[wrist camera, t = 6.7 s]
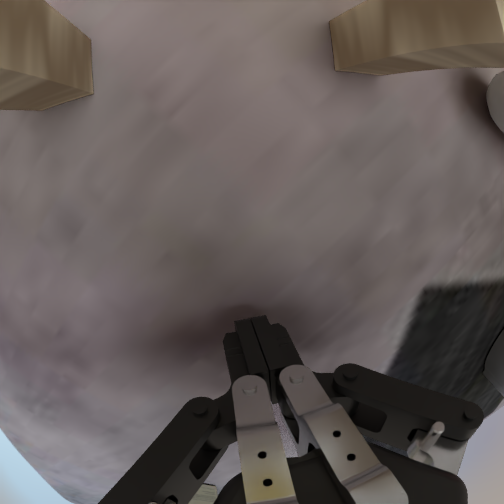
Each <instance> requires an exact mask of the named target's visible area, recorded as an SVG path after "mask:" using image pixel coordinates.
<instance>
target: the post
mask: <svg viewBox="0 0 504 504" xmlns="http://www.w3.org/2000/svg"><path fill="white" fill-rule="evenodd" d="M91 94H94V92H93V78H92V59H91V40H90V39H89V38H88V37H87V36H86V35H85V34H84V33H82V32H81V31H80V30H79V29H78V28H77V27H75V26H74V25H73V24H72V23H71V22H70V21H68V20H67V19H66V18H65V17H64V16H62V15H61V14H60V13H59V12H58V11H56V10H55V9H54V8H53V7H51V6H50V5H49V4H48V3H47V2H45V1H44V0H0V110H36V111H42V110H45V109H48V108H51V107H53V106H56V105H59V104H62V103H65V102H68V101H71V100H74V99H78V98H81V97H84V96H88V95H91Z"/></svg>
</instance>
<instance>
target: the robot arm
mask: <svg viewBox="0 0 504 504" xmlns="http://www.w3.org/2000/svg"><path fill="white" fill-rule="evenodd" d="M234 322H235V329H236V332H232V333H226V334H225V337H224V340H223V345H224V350H225V355H226V360H227V365H228V369H229V374H230V378H231V387H230V389H229V390H228V392H227V393H226V394H224V395H223V396H221V397H219V398H217V399H215V400H212V399H210V398H207V397H197V398H193V399H191V400H190V401H188V402H187V403H186V404H185V405H184V406H183V408H182V409H181V410H180V411H179V412H178V414H177V415H176V416H175V417H174V418H173V420H172V421H171V422H170V423H169V424H168V426H167V427H166V428H165V429H164V430H163V431H162V433H161V434H160V435H159V436H158V437H157V438H156V440H155V441H154V442H153V443H152V444H151V445H150V446H149V448H148V449H147V450H146V451H145V452H144V453H143V454H142V456H141V457H140V458H139V459H138V460H137V461H136V462H135V464H134V465H133V466H132V467H131V468H130V469H129V470H128V471H127V472H126V474H125V475H124V476H123V477H122V478H121V479H120V480H119V481H118V482H117V483H116V485H115V486H114V487H113V488H112V489H111V490H110V491H109V492H108V493H107V494H106V495H105V496H104V498H103V499H102V500H101V501H100V502H99V503H98V504H188V503H189V502H190V501H191V499H192V498H193V496H194V495H195V494H196V492H197V491H198V490H199V488H200V487H201V486H202V484H203V483H204V481H205V480H206V479H207V477H208V476H209V474H210V473H211V472H212V470H213V469H214V467H215V466H216V464H217V463H218V461H219V460H220V459H221V457H222V456H223V454H224V453H225V451H226V450H227V448H228V445H229V444H231V443H234V442H236V441H238V448H239V456H240V463H241V470H242V472H241V473H240V474H238V475H236V476H235V477H233V478H232V479H231V480H230V481H229V482H228V483H227V484H226V485H225V486H224V487H223V489H222V490H221V492H220V493H219V495H218V497H217V498H216V500H215V501H214V503H213V504H468V501H467V499H468V494H467V489H466V486H465V484H464V482H463V481H462V480H461V479H460V478H459V477H458V476H457V474H458V471H459V468H460V465H461V462H462V459H463V456H464V453H465V449H466V446H467V442H468V440H469V439H470V438H471V436H472V435H473V434H474V433H475V431H476V430H477V429H478V428H479V426H480V425H481V424H482V422H483V418H484V415H483V411H482V409H481V408H480V407H479V406H478V405H477V404H475V403H472V402H469V401H465V400H462V399H458V398H455V397H451V396H448V395H445V394H442V393H438V392H435V391H432V390H429V389H426V388H422V387H419V386H416V385H413V384H410V383H407V382H404V381H401V380H398V379H395V378H393V377H390V376H387V375H384V374H381V373H378V372H376V371H373V370H370V369H367V368H365V367H362V366H359V365H356V364H350V363H349V364H343V365H341V366H339V367H338V368H337V369H336V370H335V371H334V373H316V372H313V371H311V370H310V369H309V368H308V367H306V366H304V364H303V362H302V360H301V358H300V356H299V354H298V352H297V350H296V348H295V346H294V344H293V343H292V340H291V338H290V337H289V334H288V332H287V330H286V329H285V328H284V327H283V326H281V325H280V324H279V323H276V324H272V325H270V324H269V322H268V319H267V317H266V315H264V316H258V317H253V318H249V319H243V320H238V321H234ZM483 375H484V376H485V377H486V378H487V379H488V380H489V381H490V382H491V383H492V384H493V385H494V386H495V387H496V389H497V390H498V391H499V392H500V393H501V394H502V395H503V396H504V330H503V331H502V332H501V334H500V335H499V337H498V338H497V340H496V341H495V343H494V345H493V346H492V348H491V350H490V352H489V354H488V356H487V359H486V361H485V370H484V372H483ZM271 402H272V404H276V403H278V404H279V406H280V409H281V418H282V420H283V422H284V424H285V426H286V428H287V430H288V433H289V435H290V437H291V439H292V441H293V443H294V445H295V447H296V450H297V453H298V457H292V458H286V455H285V451H284V447H283V443H282V439H281V435H280V431H279V427H278V424H277V422H276V421H275V417H274V413H273V409H272V405H271ZM361 434H362V435H365V436H367V437H370V438H372V439H375V440H378V441H380V442H383V443H386V444H388V445H391V446H394V447H396V448H399V449H402V450H405V451H407V454H408V456H409V458H408V457H406V456H403V455H400V454H398V453H395V452H393V451H390V450H388V449H386V448H383V447H381V446H378V445H376V444H373V443H369V442H366V441H365V439H364V438H363V437H362V435H361Z"/></svg>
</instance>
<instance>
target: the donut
mask: <svg viewBox="0 0 504 504" xmlns="http://www.w3.org/2000/svg"><path fill="white" fill-rule="evenodd" d="M486 100H487V104H488V109H489V112H490V116H491V117H492V119H493V120H494V122H495V123H496V125H497V126H498V127H499V129H500V130H501V131H502V132H503V133H504V71H503V72H500V73H498V74H496V76H495V77H494V78H493V79H492V81H491V83H490V85H489V86H488V89H487V92H486Z"/></svg>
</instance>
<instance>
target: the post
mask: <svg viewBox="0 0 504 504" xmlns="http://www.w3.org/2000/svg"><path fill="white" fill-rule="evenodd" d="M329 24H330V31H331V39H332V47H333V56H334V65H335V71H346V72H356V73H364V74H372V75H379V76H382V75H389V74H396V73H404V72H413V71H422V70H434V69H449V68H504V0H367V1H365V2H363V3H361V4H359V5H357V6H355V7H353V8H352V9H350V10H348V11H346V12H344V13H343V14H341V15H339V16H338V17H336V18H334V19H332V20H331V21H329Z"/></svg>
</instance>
